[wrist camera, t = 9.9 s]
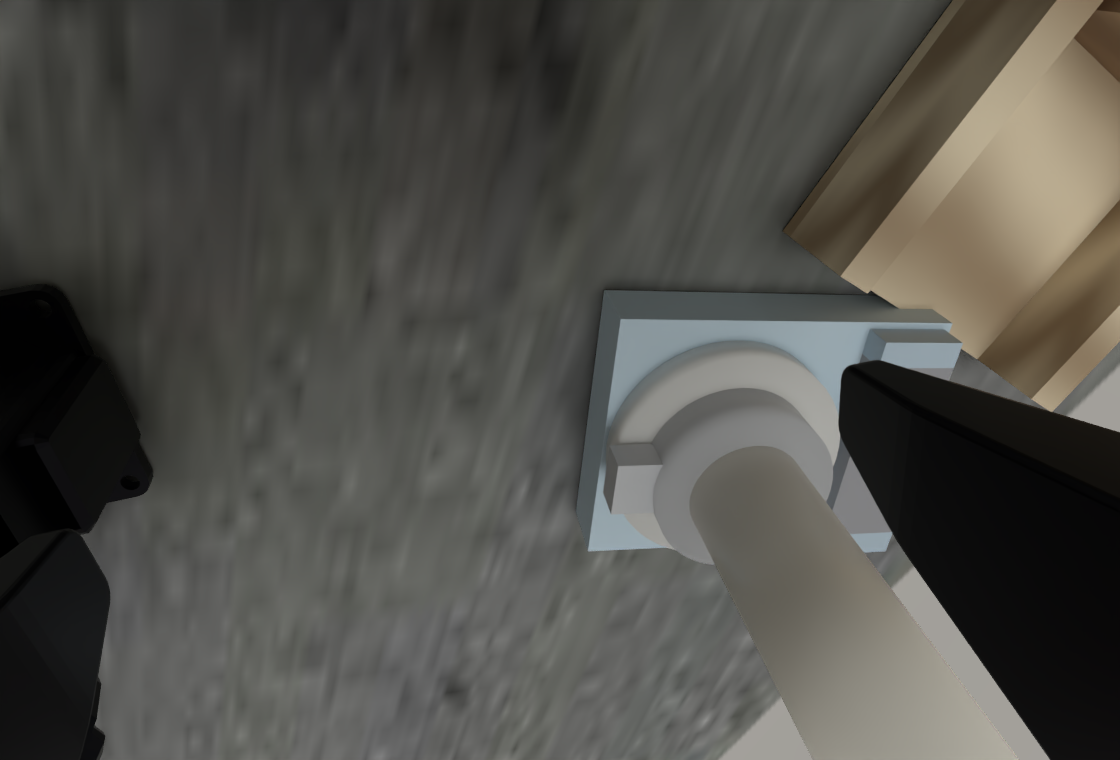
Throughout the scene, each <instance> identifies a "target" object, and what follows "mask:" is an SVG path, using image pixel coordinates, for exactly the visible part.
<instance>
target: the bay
mask: <svg viewBox="0 0 1120 760" xmlns="http://www.w3.org/2000/svg"><path fill="white" fill-rule="evenodd" d="M1102 2H1103V0H953V1H952V2H951V3H950V5H949V6H948V7H947V9H946V10H945V12H944V13H943V14H942V16H941V17H940V18H939V20H938V21H937V22H936V24H935V25H934V26H933V28H932V29H931V31H930V32H929V33H928V35H927V36H926V37H925V39H924V40H923V41H922V43H921V44H920V45H919V47H918V48H917V50H916V51H915V52H914V54H913V55H912V56H911V58H910V59H909V60H908V62H907V63H906V64H905V66H904V67H903V69H902V70H901V71H900V73H899V74H898V75H897V77H896V78H895V79H894V81H893V82H892V83H891V85H890V86H889V88H888V89H887V90H886V92H885V93H884V94H883V96H882V97H881V98H880V100H879V101H878V102H877V104H876V105H875V107H874V108H873V109H872V111H871V112H870V113H869V115H868V116H867V117H866V119H865V120H864V121H863V123H862V124H861V126H860V127H859V128H858V130H857V131H856V132H855V134H854V135H853V136H852V138H851V139H850V140H849V142H848V143H847V145H846V146H845V147H844V149H843V150H842V151H841V153H840V154H839V155H838V157H837V158H836V159H835V161H834V162H833V164H832V165H831V166H830V168H829V169H828V170H827V172H826V173H825V174H824V176H823V177H822V178H821V180H820V181H819V183H818V184H817V185H816V187H815V188H814V189H813V191H812V192H811V193H810V195H809V196H808V197H807V199H806V200H805V202H804V203H803V204H802V206H801V207H800V208H799V210H798V211H797V212H796V214H795V215H794V216H793V218H792V219H791V221H790V222H789V223H788V225H787V226H786V227H785V229H784V230H783V232H784V233H785V234H787V235H788V236H789V237H791V238H792V239H793V240H794V241H796V242H797V243H798V244H800V245H801V246H802V247H803V248H805V249H806V250H807V251H809V252H810V253H811V254H812V255H814V256H815V257H816V258H818V259H819V260H820V261H821V262H823V263H824V264H825V265H827V266H828V267H829V268H830V269H832V270H833V271H834V272H835V273H837V274H838V275H839V276H841V277H842V278H844V279H845V280H847V281H848V282H850V283H852V284H853V285H855V286H856V287H858V288H859V289H861V290H862V291H864V292H866V293H867V294H868V293H869V291H870V290H871V291H873V292H874V293H876V294H877V295H879V296H880V297H882V298H883V299H885V300H887V301H888V302H890V303H891V304H893V305H894V306H896V307H897V308H899V309H933V310H935V311H936V312H937V313H939V314H940V315H942V316H943V317H944V318H946V319H947V320H949V321H950V322H951V323H953V324H952V326H951V329H950V332H949V333H950V334H951V335H953V336H954V337H955V338H957V339H958V340H959V341H961V342H962V343H963V345H962V347H961V349H962V350H964V351H965V352H967V353H968V354H970V355H972V356H973V357H975V358H976V359H978V360H979V361H980V362H982V363H983V364H985V365H986V366H987V367H989V368H990V369H991V370H993V371H994V372H995V373H997V374H998V375H999V376H1001V377H1002V378H1003V379H1005V380H1006V381H1008V382H1009V383H1010V384H1012V385H1013V386H1014V387H1016V388H1017V389H1018V390H1020V391H1021V392H1022V393H1024V394H1025V395H1026V396H1028V397H1029V398H1031V399H1032V400H1034V401H1035V402H1037V403H1038V404H1040V405H1041V406H1043V407H1044V408H1046V409H1048V410H1049V411H1051V412H1052V411H1053V410H1054V409H1055V408H1056V407H1057V406H1058V405H1059V404H1060V403H1061V402H1062V401H1063V400H1064V399H1065V398H1066V397H1067V396H1068V395H1069V394H1070V393H1071V391H1072V390H1073V389H1074V388H1075V387H1076V386H1077V385H1078V384H1079V383H1080V382H1081V381H1082V380H1083V379H1084V378H1085V377H1086V376H1087V375H1088V374H1089V373H1090V372H1091V371H1092V370H1093V369H1094V367H1095V366H1096V365H1097V364H1098V363H1099V362H1100V361H1101V360H1102V359H1103V358H1104V357H1105V356H1106V355H1107V354H1108V353H1109V352H1110V351H1111V350H1112V349H1113V348H1114V347H1115V346H1116V344H1117V343H1118V342H1119V341H1120V83H1119V82H1118V81H1117V80H1116V79H1115V78H1114V77H1113V76H1112V75H1111V74H1110V73H1109V72H1108V71H1107V70H1106V69H1105V68H1104V67H1103V66H1102V65H1101V64H1100V63H1099V62H1098V61H1097V60H1096V59H1095V58H1094V57H1093V56H1092V55H1091V54H1090V53H1089V52H1088V51H1087V50H1086V49H1085V48H1084V47H1083V46H1082V45H1081V44H1079V43H1078V42H1077V41H1076V40H1075V39H1074V37H1075V35H1076V34H1077V33H1078V32H1079V30H1080V29H1081V28H1082V27H1083V25H1084V24H1085V23H1086V22H1087V20H1088V19H1089V18H1090V17H1091V15H1092V14H1093V13H1094V12H1095V10H1096V9H1097V8H1098V7H1099V5H1100V4H1101V3H1102Z"/></svg>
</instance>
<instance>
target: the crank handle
mask: <svg viewBox="0 0 1120 760" xmlns="http://www.w3.org/2000/svg"><path fill="white" fill-rule="evenodd" d="M832 480H833V464H832V460H831V455H830V453H829V451H828V448H827V446H826V445H825V443H824V442H823V440H822V439H821V438H820V437H819V435H818V434H817V433H816V432H815V431H814V429H813V428H812V427H811V426H810V425H809V423H808V422H807V421H806V420H805V419H804V417H803V416H802V415H801V414H800V413H799V411H798V410H797V409H796V408H795V407H794V406H793V405H792V404H791V403H790V402H788V401H787V400H786V399H784V398H783V397H781V396H779V395H777V394H775V393H772V392H769V391H766V390H760V389H755V388H735V389H728V390H722V391H719V392H715V393H712V394H709V395H707V396H704V397H702V398H699V399H697V400H696V401H694V402H692V403H690V404H688V405H687V406H685V407H684V408H683V409H681V410H680V411H678V412H677V413H676V414H675V415H674V416H672V417H671V418H670V419H669V420H668V421H667V422H666V423H665V424H664V426H663V427H662V428H661V429H660V430H659V432H658V433H657V435H656V436H655V437H654V439H653V441H652V443H651V444H633V445H610V446H609V453H608V460H607V467H606V474H605V481H604V488H603V494H604V497H605V499H606V502H607V505H608V508H609V510H610V513H611V515H613V514H636V513H654V515H655V517H656V520H657V522H658V524H659V526H660V529H661V531H662V533H663V535H664V537H665V538H666V540H667V541H668V543H669V544H670V545H671V546H672V547H673V548H674V549H675V550H677V551H678V552H679V553H680V554H682V555H684V556H686V557H687V558H689V559H692V560H695V561H697V562H701V563H705V564H711V565H715V566H716V568H717V570H718V572H719V574H720V576H721V578H722V580H723V582H724V584H725V586H726V588H727V590H728V592H729V594H730V596H731V598H732V600H733V602H734V604H735V606H736V608H737V610H738V612H739V614H740V616H741V618H742V620H743V622H744V624H745V626H746V628H747V630H748V632H749V634H750V636H751V638H752V640H753V642H754V644H755V646H756V648H757V650H758V652H759V654H760V656H761V658H762V660H763V661H764V663H765V665H766V667H767V669H768V671H769V673H770V675H771V677H772V679H773V681H774V683H775V685H776V687H777V689H778V691H779V693H780V695H781V697H782V699H783V701H784V703H785V705H786V707H787V709H788V711H789V713H790V715H791V717H792V719H793V721H794V723H795V725H796V727H797V729H798V731H799V733H800V735H801V737H802V739H803V741H804V743H805V745H806V747H807V749H808V751H809V753H810V755H811V757H812V759H813V760H1019V758H1018V757H1017V756H1016V754H1015V753H1014V752H1013V750H1012V749H1011V748H1010V746H1009V745H1008V744H1007V742H1006V741H1005V740H1004V738H1003V737H1002V736H1001V734H1000V733H999V732H998V730H997V729H996V728H995V726H994V725H993V724H992V722H991V721H990V720H989V718H988V717H987V716H986V714H985V713H984V712H983V710H982V709H981V708H980V706H979V705H978V704H977V702H976V701H975V700H974V699H973V697H972V696H971V695H970V693H969V692H968V691H967V689H966V688H965V686H964V685H963V684H962V683H961V681H960V680H959V678H958V677H957V676H956V675H955V673H954V672H953V671H952V669H951V668H950V667H949V665H948V664H947V663H946V661H945V660H944V659H943V657H942V656H941V655H940V653H939V652H938V651H937V649H936V648H935V647H934V645H933V644H932V643H931V641H930V640H929V639H928V638H927V636H926V635H925V633H924V632H923V631H922V629H921V628H920V627H919V625H918V624H917V623H916V621H915V620H914V619H913V617H912V616H911V615H910V613H909V612H908V611H907V609H906V608H905V607H904V605H903V604H902V603H901V601H900V600H899V599H898V597H897V596H896V595H895V593H894V592H893V591H892V589H891V588H890V587H889V585H888V584H887V583H886V581H885V580H884V579H883V577H882V576H881V575H880V573H879V572H878V571H877V569H876V568H875V567H874V565H873V564H872V563H871V561H870V560H869V559H868V557H867V556H866V555H865V553H864V552H863V551H862V549H861V548H860V547H859V545H858V544H857V543H856V541H855V540H854V539H853V537H852V536H851V535H850V533H849V532H848V531H847V529H846V528H845V527H844V525H843V524H842V523H841V521H840V520H839V519H838V517H837V516H836V515H835V513H834V512H833V511H832V509H831V508H830V507H829V505H828V504H827V503H826V501H827V499H828V496H829V493H830V490H831V486H832Z"/></svg>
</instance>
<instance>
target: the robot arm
mask: <svg viewBox="0 0 1120 760" xmlns="http://www.w3.org/2000/svg"><path fill="white" fill-rule="evenodd" d="M35 299H37V300H43V301H45V302H47V303H48V304H49V305H50V306H51V309H52V311H51V312H48V311H43V310H41V309H39V307H38V306H37V305H36V302H35ZM838 426H839V432H840V436H841V439H842V442H843V444H844V446H845V447H846V449H847V451H848V453H849V455H850V457H851V459H852V460H853V462H854V464H855V466H856V468H857V470H858V471H859V473H860V475H861V477H862V479H863V481H864V482H865V484H866V486H867V488H868V490H869V492H870V494H871V495H872V497H873V499H874V501H875V503H876V505H877V506H878V508H879V510H880V512H881V514H882V516H883V517H884V519H885V521H886V523H887V525H888V527H889V528H890V530H891V532H892V533H893V535H894V537H895V539H896V540H897V542H898V543H899V545H900V546H901V548H902V549H903V551H904V552H905V554H906V555H907V557H908V558H909V560H910V561H911V562H912V564H913V565H914V567H915V568H916V569H917V571H918V572H919V574H920V575H921V577H922V578H923V580H924V581H925V582H926V584H927V585H928V587H929V588H930V590H931V591H932V592H933V594H934V595H935V596H936V598H937V599H938V601H939V602H940V604H941V605H942V607H943V608H944V609H945V611H946V612H947V614H948V615H949V616H950V618H951V619H952V621H953V622H954V624H955V625H956V626H957V628H958V629H959V631H960V632H961V634H962V635H963V636H964V638H965V639H966V641H967V642H968V644H969V645H970V646H971V648H972V649H973V651H974V652H975V654H976V655H977V656H978V658H979V659H980V661H981V662H982V663H983V665H984V666H985V668H986V669H987V671H988V672H989V673H990V675H991V676H992V678H993V679H994V681H995V682H996V683H997V685H998V686H999V688H1000V689H1001V691H1002V692H1003V693H1004V695H1005V696H1006V698H1007V699H1008V700H1009V702H1010V703H1011V705H1012V706H1013V707H1014V709H1015V710H1016V712H1017V713H1018V715H1019V716H1020V717H1021V719H1022V720H1023V722H1024V723H1025V725H1026V726H1027V727H1028V729H1029V730H1030V731H1031V733H1032V734H1033V736H1034V737H1035V739H1036V740H1037V742H1038V743H1039V744H1040V746H1041V747H1042V749H1043V750H1044V752H1045V753H1046V754H1047V756H1048V757H1049V759H1050V760H1120V432H1117V431H1113V430H1110V429H1107V428H1103V427H1100V426H1097V425H1093V424H1090V423H1087V422H1084V421H1080V420H1077V419H1074V418H1070V417H1067V416H1064V415H1060V414H1057V413H1054V412H1050V411H1047V410H1044V409H1041V408H1037V407H1034V406H1031V405H1027V404H1024V403H1021V402H1017V401H1014V400H1011V399H1007V398H1004V397H1001V396H998V395H994V394H991V393H988V392H984V391H981V390H978V389H974V388H971V387H968V386H964V385H961V384H958V383H954V382H951V381H948V380H945V379H941V378H938V377H935V376H931V375H928V374H925V373H921V372H918V371H915V370H911V369H908V368H905V367H902V366H898V365H895V364H892V363H888V362H885V361H882V360H872V361H867V362H862V363H857V364H853V365H849V366H847V367H846V368H845V369H844V370H843V373H842V376H841V385H840V401H839V418H838ZM140 436H141V434H140V431H139V429H138V427H137V425H136V423H135V421H134V419H133V417H132V415H131V413H130V411H129V409H128V407H127V405H126V402H125V400H124V398H123V396H122V394H121V392H120V390H119V388H118V386H117V384H116V382H115V380H114V378H113V376H112V374H111V372H110V370H109V368H108V366H107V364H106V362H105V361H104V360H103V359H101V358H100V357H98V356H97V355H95V354H94V353H93V351H92V349H91V347H90V345H89V343H88V340H87V338H86V336H85V334H84V332H83V330H82V328H81V326H80V324H79V322H78V320H77V318H76V316H75V314H74V312H73V310H72V308H71V306H70V304H69V302H68V300H67V298H66V297H65V296H64V294H63V293H62V292H61V291H60V290H58V289H57V288H55V287H53V286H50V285H46V284H37V285H31V286H26V287H20V288H15V289H9V290H4V291H0V760H100V757H101V755H102V753H103V746H104V740H105V735H104V733H103V732H102V731H101V730H100V729H98V728H97V727H96V726H94V725H95V722H96V719H97V712H98V705H99V697H100V689H101V682H100V680H99V678H98V673H99V667H100V661H101V655H102V649H103V643H104V637H105V631H106V624H107V618H108V612H109V606H110V589H109V585H108V582H107V580H106V577H105V576H104V574H103V572H102V571H101V569H100V567H99V565H98V564H97V562H96V560H95V558H94V557H93V555H92V553H91V552H90V550H89V548H88V546H87V545H86V543H85V541H84V540H83V538H82V537H81V534H86V533H89V532H90V531H91V530H92V529H93V527H94V525H95V524H96V522H97V520H98V518H99V516H100V514H101V512H102V510H103V508H104V507H105V505H106V503H108V502H113V501H118V500H122V499H127V498H132V497H137V496H140V495H142V494H144V493H145V492H146V491H147V490H148V488H149V486H150V484H151V482H152V478H153V474H152V470H151V468H150V466H149V464H148V462H147V460H146V458H145V456H144V454H143V452H142V450H141V448H140V446H139V444H138V440H139V439H140ZM125 476H134V477H136V478H137V479H138V480H139V481H138V482H133V481H130V480H128V479H127V478H126V477H125Z"/></svg>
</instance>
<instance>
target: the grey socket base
mask: <svg viewBox="0 0 1120 760" xmlns="http://www.w3.org/2000/svg"><path fill="white" fill-rule="evenodd" d="M952 324H953V323H951V322H950V321H949V320H947V319H946V318H944V317H943V316H942V315H940V314H939V313H937V312H936V311H935V310H933V309H899V308H897V307H896V306H894V305H893V304H891V303H890V302H888V301H887V300H885V299H883V298H882V297H880V296H878V295H827V294H777V293H727V292H676V291H626V290H604V295H603V303H602V311H601V319H600V327H599V334H598V342H597V350H596V358H595V366H594V373H593V381H592V389H591V397H590V405H589V412H588V420H587V428H586V436H585V444H584V451H583V459H582V467H581V475H580V483H579V490H578V498H577V506H576V514H577V517H578V520H579V523H580V527H581V530H582V533H583V537H584V540H585V543H586V546H587V550H588V551H603V550H624V549H646V548H670V549H674V548H673V547H672V546H671V545H670V544H669V543H668V541H667V540H666V538H665V537H664V535H663V533H662V531H661V529H660V526H659V524H658V522H657V520H656V517H655V515H654V513H636V514H613V515H611V513H610V510H609V508H608V505H607V502H606V499H605V497H604V494H603V488H604V481H605V474H606V467H607V460H608V453H609V446H610V445H633V444H651V443H652V441H653V439H654V437H655V436H656V435H657V433H658V432H659V430H660V429H661V428H662V427H663V426H664V424H665V423H666V422H667V421H668V420H669V419H670V418H671V417H672V416H674V415H675V414H676V413H677V412H678V411H680V410H681V409H683V408H684V407H685V406H687V405H688V404H690V403H692V402H694V401H696V400H697V399H699V398H702V397H704V396H707V395H709V394H712V393H715V392H719V391H722V390H728V389H735V388H755V389H760V390H766V391H769V392H772V393H775V394H777V395H779V396H781V397H783V398H784V399H786V400H787V401H788V402H790V403H791V404H792V405H793V406H794V407H795V408H796V409H797V410H798V411H799V413H800V414H801V415H802V416H803V417H804V419H805V420H806V421H807V422H808V423H809V425H810V426H811V427H812V428H813V429H814V431H815V432H816V433H817V434H818V435H819V437H820V438H821V439H822V440H823V442H824V443H825V445H826V446H827V448H828V451H829V453H830V455H831V460H832V464H833V480H832V486H831V490H830V493H829V496H828V499H827V501H826V503H827V504H828V505H829V507H830V508H831V509H832V511H833V512H834V513H835V515H836V516H837V517H838V519H839V520H840V521H841V523H842V524H843V525H844V527H845V528H846V529H847V531H848V532H849V533H850V535H851V536H852V537H853V539H854V540H855V541H856V543H857V544H858V545H859V547H860V548H861V549H862V551H863V552H881V551H886V549H887V546H888V543H889V540H890V538H891V535H892V532H891V530H890V528H889V527H888V525H887V523H886V521H885V519H884V517H883V516H882V514H881V512H880V510H879V508H878V506H877V505H876V503H875V501H874V499H873V497H872V495H871V494H870V492H869V490H868V488H867V486H866V484H865V482H864V481H863V479H862V477H861V475H860V473H859V471H858V470H857V468H856V466H855V464H854V462H853V460H852V459H851V457H850V455H849V453H848V451H847V449H846V447H845V446H844V444H843V442H842V439H841V436H840V432H839V426H838V418H839V401H840V385H841V376H842V373H843V370H844V369H845V368H846V367H847V366H849V365H853V364H857V363H862V362H867V361H872V360H882V361H885V362H888V363H892V364H895V365H898V366H902V367H905V368H908V369H911V370H915V371H918V372H921V373H925V374H928V375H931V376H935V377H938V378H941V379H945V380H948V381H949V380H950V377H951V374H952V372H953V369H954V366H955V364H956V361H957V358H958V356H959V353H960V350H961V347H962V345H963V343H962V342H961V341H959V340H958V339H957V338H955V337H954V336H953V335H951V334H950V333H949V332H950V329H951V326H952ZM674 550H675V549H674Z"/></svg>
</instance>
